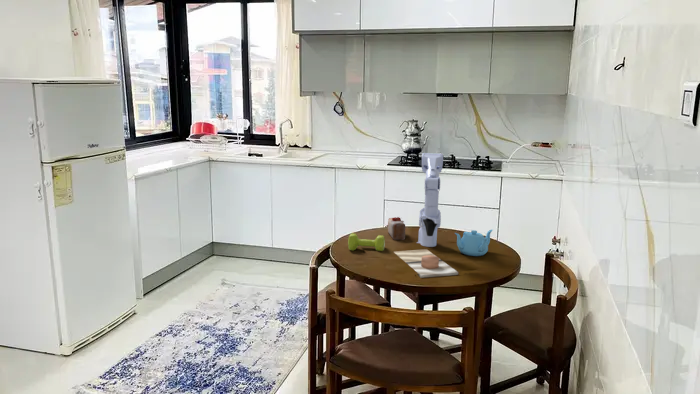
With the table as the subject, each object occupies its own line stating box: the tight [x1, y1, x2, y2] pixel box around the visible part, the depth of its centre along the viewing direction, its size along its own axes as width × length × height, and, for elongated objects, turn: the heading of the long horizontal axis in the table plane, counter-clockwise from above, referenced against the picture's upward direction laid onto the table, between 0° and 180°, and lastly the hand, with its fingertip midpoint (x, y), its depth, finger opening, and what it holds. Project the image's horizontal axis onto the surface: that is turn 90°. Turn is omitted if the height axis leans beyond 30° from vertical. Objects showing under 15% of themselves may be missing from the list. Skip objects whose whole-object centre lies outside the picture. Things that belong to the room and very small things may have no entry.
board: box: [393, 248, 459, 279], centre depth 217 cm, size 31×16×1 cm, turn 15°
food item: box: [387, 216, 406, 241], centre depth 257 cm, size 14×8×10 cm, turn 8°
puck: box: [421, 255, 440, 269], centre depth 211 cm, size 7×7×4 cm
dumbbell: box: [347, 232, 386, 252], centre depth 234 cm, size 16×8×7 cm, turn 80°
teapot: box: [454, 229, 493, 257], centre depth 232 cm, size 15×15×10 cm
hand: (429, 235), depth 225 cm, fingers closed
